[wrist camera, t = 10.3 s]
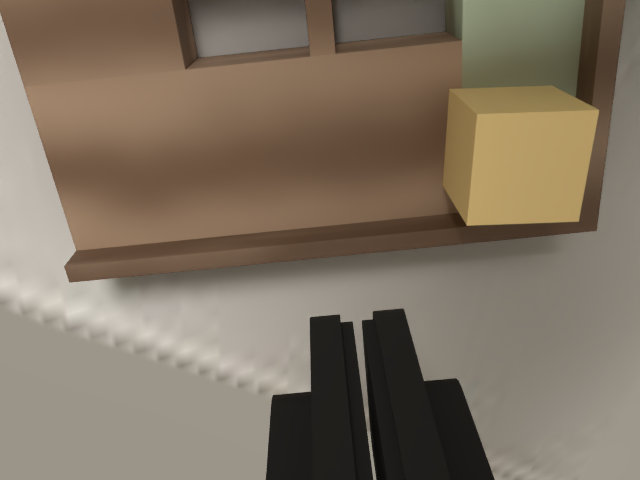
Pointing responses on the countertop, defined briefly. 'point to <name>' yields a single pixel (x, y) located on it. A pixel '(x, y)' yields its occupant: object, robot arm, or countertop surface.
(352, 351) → the robot arm
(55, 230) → the countertop surface
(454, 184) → the block
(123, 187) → the box
